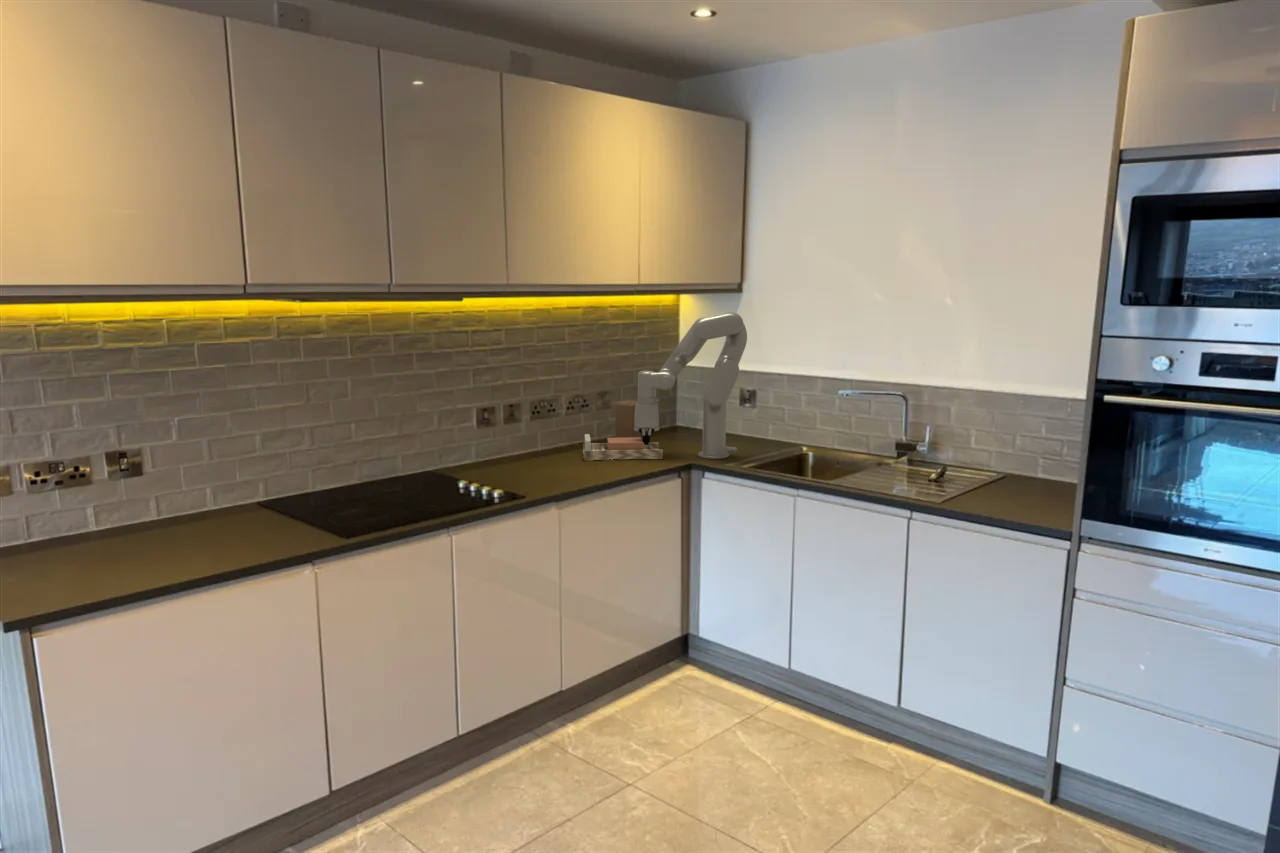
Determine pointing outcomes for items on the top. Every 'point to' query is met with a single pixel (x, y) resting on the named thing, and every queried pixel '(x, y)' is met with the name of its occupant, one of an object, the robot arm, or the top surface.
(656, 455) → the roller bed
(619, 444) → the slab
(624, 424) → the wooden block
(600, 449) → the rollers
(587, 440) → the end stop
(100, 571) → the top surface
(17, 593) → the top surface
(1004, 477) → the top surface
